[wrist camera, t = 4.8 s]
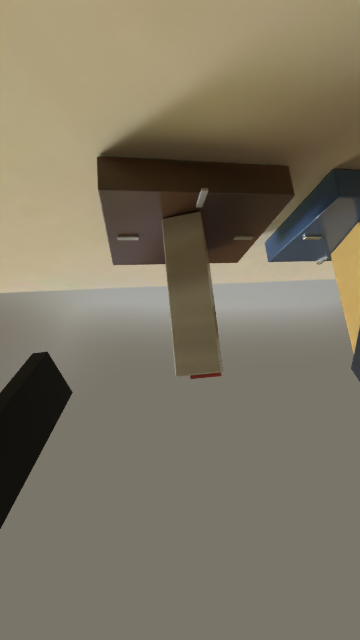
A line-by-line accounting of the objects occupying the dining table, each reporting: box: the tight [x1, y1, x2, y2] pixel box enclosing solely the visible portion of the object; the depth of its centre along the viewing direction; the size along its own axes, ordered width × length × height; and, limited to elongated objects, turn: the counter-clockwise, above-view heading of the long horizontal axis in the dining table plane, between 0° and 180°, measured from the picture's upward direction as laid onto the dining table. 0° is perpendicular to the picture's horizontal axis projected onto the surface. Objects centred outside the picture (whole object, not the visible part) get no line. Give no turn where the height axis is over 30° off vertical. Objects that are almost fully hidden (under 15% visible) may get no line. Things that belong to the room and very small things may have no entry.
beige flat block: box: [162, 212, 223, 379], centre depth 17 cm, size 6×2×10 cm, turn 11°
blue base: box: [265, 169, 360, 264], centre depth 21 cm, size 11×10×2 cm
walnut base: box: [97, 157, 294, 265], centre depth 19 cm, size 11×10×2 cm
